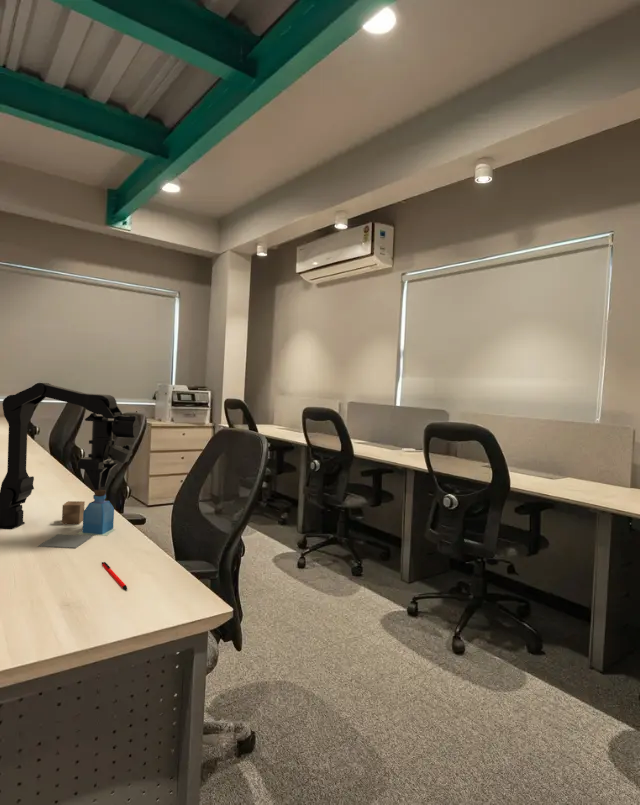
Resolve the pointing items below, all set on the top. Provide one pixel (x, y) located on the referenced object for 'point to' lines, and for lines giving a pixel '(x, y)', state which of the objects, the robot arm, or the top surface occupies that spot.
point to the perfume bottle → (98, 515)
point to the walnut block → (73, 512)
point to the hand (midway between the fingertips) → (100, 488)
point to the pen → (114, 575)
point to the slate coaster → (65, 541)
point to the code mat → (96, 534)
